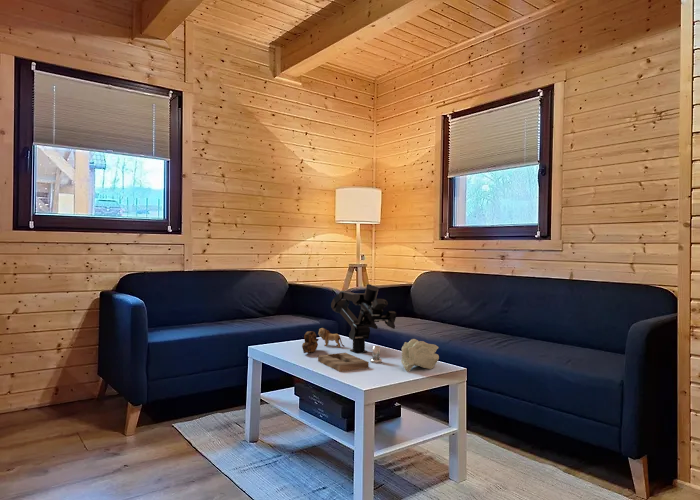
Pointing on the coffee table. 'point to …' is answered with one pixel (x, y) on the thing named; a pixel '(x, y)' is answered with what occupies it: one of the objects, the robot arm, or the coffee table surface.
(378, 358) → the steel peg
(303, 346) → the wooden carving
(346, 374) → the coffee table surface
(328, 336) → the lion figurine
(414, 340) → the folded clay sculpture
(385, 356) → the coffee table surface
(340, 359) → the keyhole plate
